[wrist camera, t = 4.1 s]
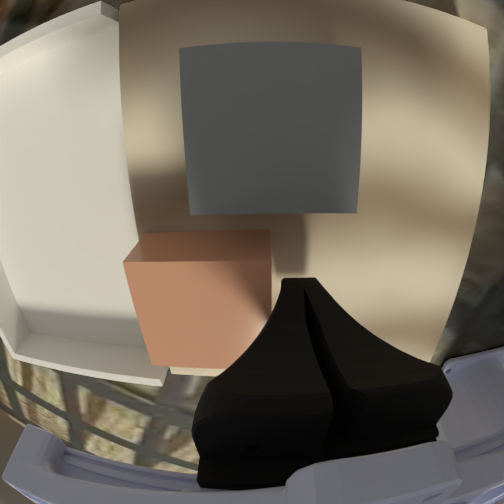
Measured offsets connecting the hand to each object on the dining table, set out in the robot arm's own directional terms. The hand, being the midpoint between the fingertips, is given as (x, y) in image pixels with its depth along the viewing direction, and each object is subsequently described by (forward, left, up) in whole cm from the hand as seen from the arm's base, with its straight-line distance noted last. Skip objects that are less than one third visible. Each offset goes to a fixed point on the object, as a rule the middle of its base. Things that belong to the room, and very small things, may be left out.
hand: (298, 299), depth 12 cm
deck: (+3, -1, -3) cm, 4 cm away
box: (+3, +13, -3) cm, 13 cm away
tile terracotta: (0, +4, -1) cm, 4 cm away
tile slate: (+6, +1, -1) cm, 7 cm away
